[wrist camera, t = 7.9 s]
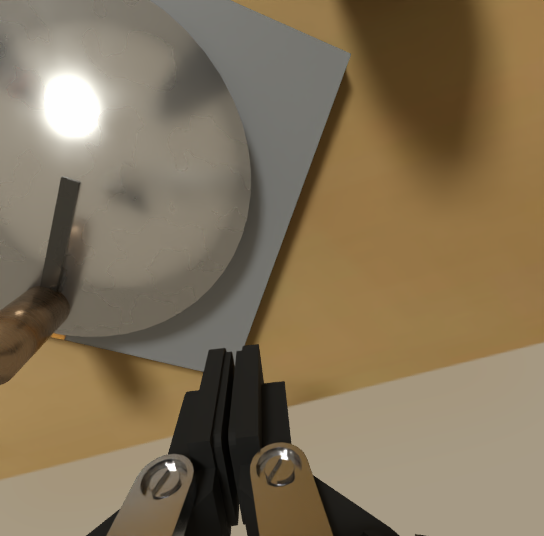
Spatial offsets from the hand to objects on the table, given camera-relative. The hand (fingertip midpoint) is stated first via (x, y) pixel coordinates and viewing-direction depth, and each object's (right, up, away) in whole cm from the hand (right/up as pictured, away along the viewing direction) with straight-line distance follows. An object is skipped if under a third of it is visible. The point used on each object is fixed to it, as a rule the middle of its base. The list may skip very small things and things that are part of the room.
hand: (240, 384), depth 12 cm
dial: (-9, +9, +6) cm, 14 cm away
